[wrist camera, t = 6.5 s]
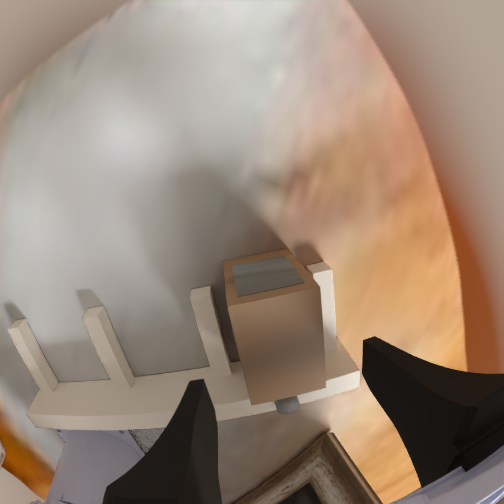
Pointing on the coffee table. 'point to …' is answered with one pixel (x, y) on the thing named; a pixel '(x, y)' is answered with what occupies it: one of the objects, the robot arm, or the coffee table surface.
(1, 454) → the decorative jar
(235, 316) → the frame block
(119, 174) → the coffee table surface
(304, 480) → the picture frame
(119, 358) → the cream pronged rack
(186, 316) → the coffee table surface
